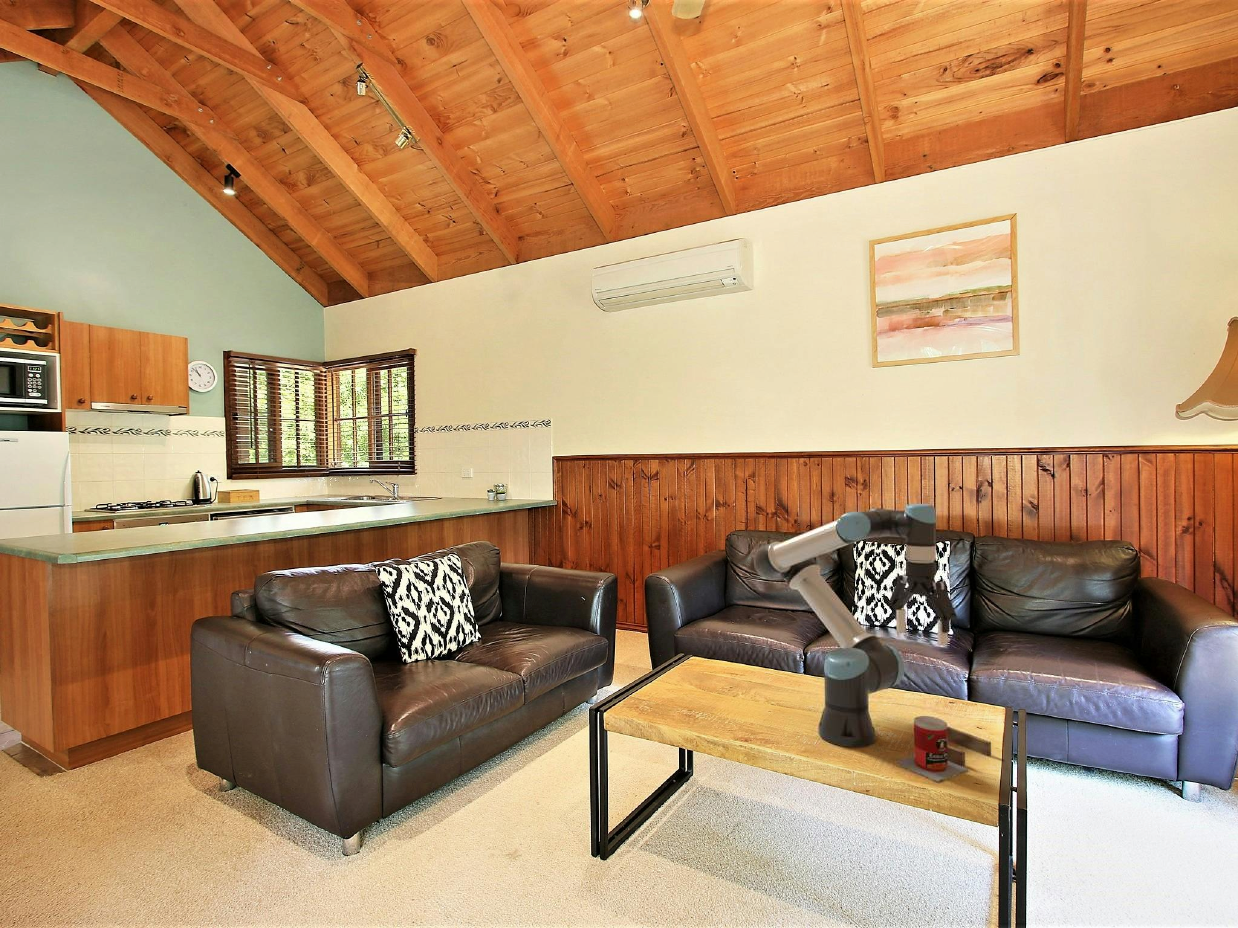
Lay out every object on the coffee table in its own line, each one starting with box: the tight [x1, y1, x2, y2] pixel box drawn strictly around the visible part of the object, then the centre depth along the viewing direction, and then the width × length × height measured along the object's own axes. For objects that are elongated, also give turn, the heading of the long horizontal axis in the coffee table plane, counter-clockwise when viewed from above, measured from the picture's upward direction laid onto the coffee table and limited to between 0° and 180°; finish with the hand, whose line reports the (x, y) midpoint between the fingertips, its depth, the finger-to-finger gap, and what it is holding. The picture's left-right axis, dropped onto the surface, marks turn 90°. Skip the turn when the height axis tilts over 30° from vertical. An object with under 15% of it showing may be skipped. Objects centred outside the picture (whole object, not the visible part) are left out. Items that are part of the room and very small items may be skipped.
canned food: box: [913, 715, 949, 772], centre depth 170 cm, size 8×8×11 cm
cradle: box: [947, 726, 992, 767], centre depth 178 cm, size 12×12×4 cm
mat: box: [894, 754, 969, 783], centre depth 170 cm, size 12×12×1 cm
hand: (921, 638), depth 185 cm, fingers open, 13 cm apart
